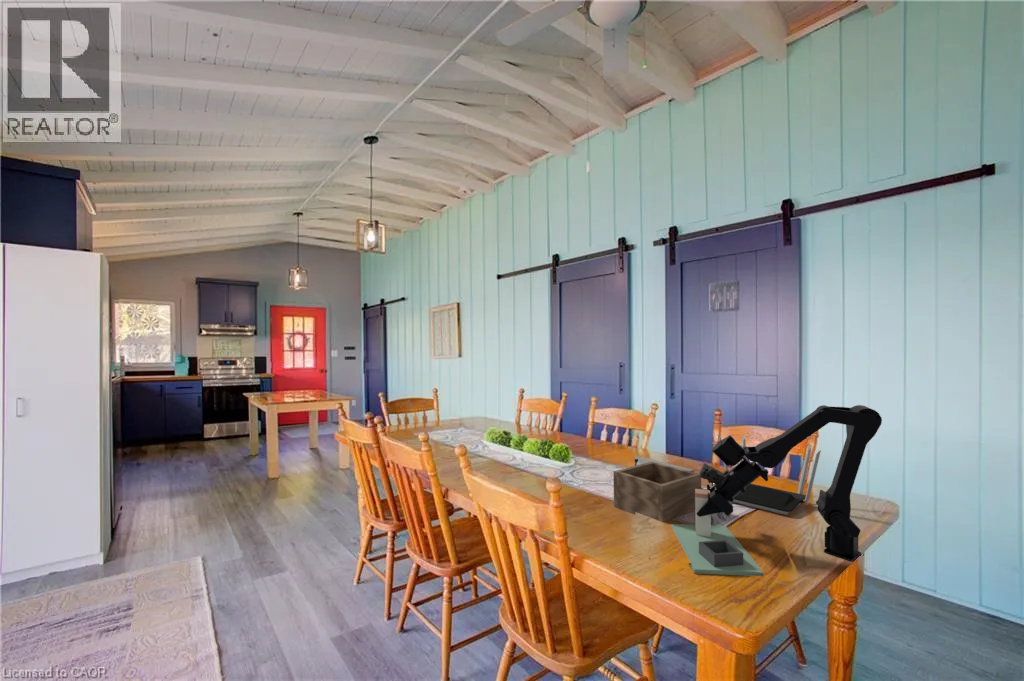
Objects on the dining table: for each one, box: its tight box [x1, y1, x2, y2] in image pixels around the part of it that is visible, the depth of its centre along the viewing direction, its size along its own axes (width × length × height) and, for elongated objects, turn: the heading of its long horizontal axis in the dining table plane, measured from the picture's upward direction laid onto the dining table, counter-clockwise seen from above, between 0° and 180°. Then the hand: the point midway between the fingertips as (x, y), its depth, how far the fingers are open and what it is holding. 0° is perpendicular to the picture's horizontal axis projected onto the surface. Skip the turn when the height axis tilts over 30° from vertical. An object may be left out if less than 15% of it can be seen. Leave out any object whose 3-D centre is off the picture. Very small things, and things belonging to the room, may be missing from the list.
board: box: [669, 523, 764, 577], centre depth 129 cm, size 28×16×1 cm, turn 173°
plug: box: [694, 488, 712, 537], centre depth 137 cm, size 4×4×12 cm
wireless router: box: [717, 434, 822, 516], centre depth 166 cm, size 34×23×20 cm
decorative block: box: [634, 455, 695, 473], centre depth 189 cm, size 8×30×8 cm, turn 34°
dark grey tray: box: [699, 540, 743, 567], centre depth 122 cm, size 8×8×3 cm
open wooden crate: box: [612, 462, 702, 523], centre depth 160 cm, size 20×20×12 cm
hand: (697, 512), depth 138 cm, fingers closed on plug, 4 cm apart
